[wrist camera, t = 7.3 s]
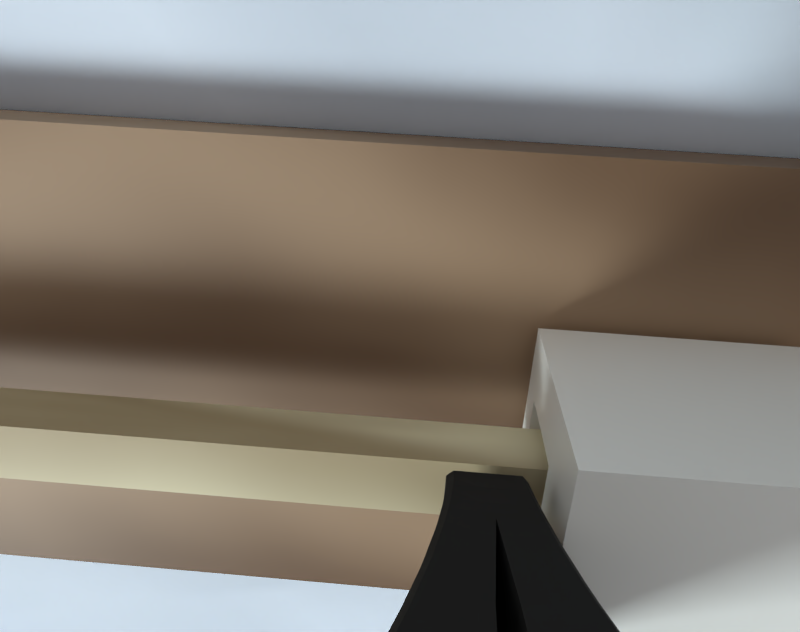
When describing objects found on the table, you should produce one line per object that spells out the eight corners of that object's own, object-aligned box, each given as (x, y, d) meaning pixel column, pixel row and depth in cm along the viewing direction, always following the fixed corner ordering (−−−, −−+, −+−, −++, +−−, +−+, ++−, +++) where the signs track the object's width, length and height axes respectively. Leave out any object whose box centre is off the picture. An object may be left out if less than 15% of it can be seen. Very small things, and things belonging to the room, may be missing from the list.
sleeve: (737, 522, 14) (844, 712, 10) (510, 503, 15) (533, 684, 11) (800, 347, 12) (959, 500, 9) (538, 327, 13) (578, 470, 9)
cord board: (899, 601, 17) (1066, 820, 12) (-218, 504, 18) (-442, 673, 13) (1127, 179, 12) (1537, 282, 7) (-415, 84, 13) (-865, 124, 9)
